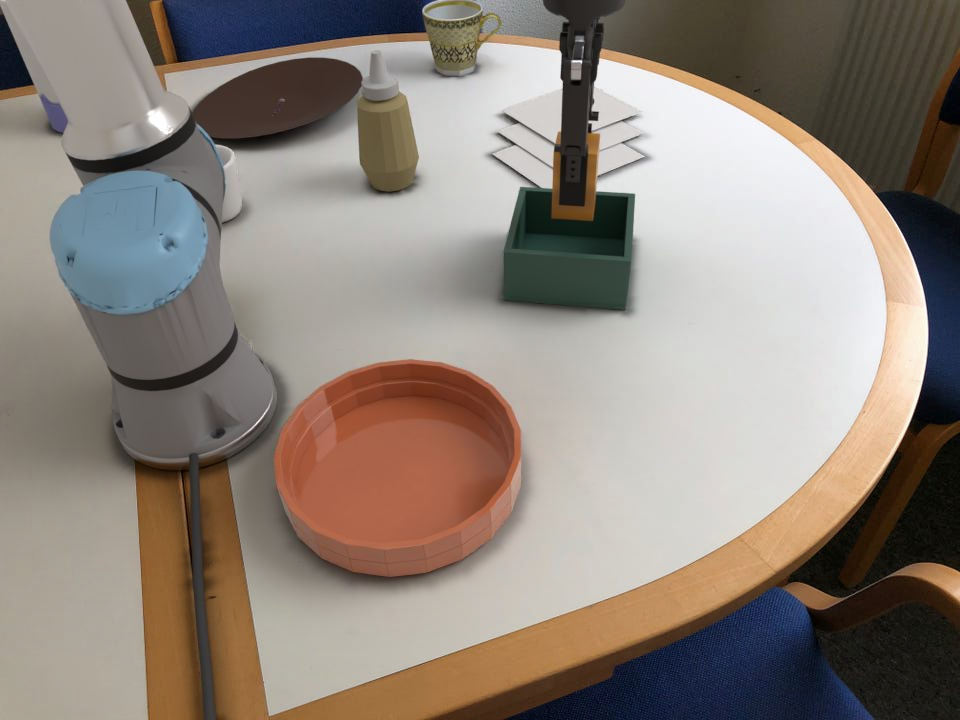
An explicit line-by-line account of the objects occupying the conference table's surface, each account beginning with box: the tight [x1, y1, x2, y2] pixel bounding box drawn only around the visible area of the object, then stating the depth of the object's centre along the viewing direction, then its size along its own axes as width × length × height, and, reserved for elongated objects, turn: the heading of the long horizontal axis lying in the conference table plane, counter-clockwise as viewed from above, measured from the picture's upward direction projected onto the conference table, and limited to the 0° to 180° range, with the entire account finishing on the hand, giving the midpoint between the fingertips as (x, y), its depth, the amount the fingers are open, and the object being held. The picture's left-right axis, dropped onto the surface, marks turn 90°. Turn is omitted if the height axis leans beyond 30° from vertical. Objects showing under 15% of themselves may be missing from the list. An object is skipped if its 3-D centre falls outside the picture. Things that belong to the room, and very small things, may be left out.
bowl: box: [273, 358, 522, 578], centre depth 70 cm, size 21×21×4 cm
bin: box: [502, 186, 636, 311], centre depth 91 cm, size 14×14×7 cm
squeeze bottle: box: [356, 49, 420, 193], centre depth 103 cm, size 8×8×18 cm
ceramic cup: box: [421, 0, 502, 77], centre depth 133 cm, size 13×10×10 cm
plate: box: [191, 56, 364, 139], centre depth 126 cm, size 28×28×4 cm
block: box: [552, 132, 600, 221], centre depth 85 cm, size 4×4×8 cm
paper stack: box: [492, 85, 645, 189], centre depth 117 cm, size 23×25×1 cm
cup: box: [215, 144, 243, 223], centre depth 101 cm, size 11×8×8 cm
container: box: [0, 0, 68, 134], centre depth 120 cm, size 10×10×20 cm
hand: (574, 190), depth 86 cm, fingers closed on block, 4 cm apart
